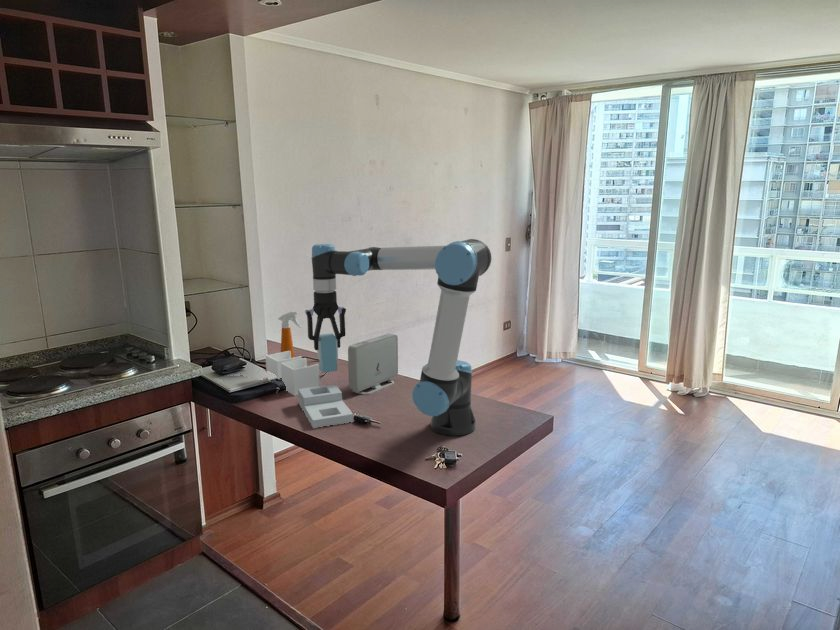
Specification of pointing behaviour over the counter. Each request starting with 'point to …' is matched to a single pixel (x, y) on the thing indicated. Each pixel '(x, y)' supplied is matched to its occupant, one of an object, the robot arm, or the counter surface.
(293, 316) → the spray bottle
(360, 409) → the counter surface
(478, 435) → the counter surface
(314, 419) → the panel
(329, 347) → the plug
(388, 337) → the network device
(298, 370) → the storage container
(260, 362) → the counter surface
